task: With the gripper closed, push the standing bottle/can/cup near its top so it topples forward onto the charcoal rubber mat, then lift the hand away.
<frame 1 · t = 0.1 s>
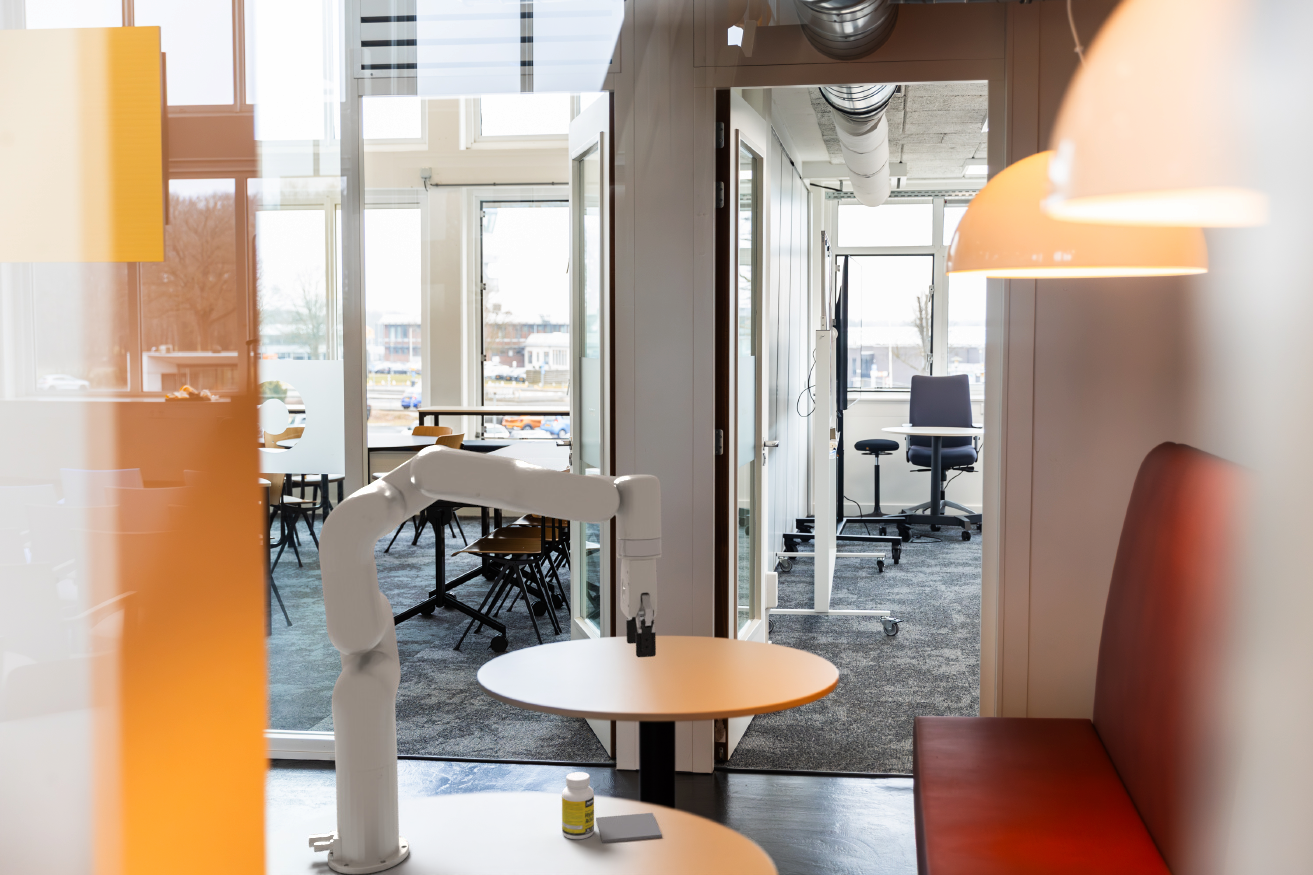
hand: (640, 649, 162), 31 cm above the table, tool pointing down, fingers open, 9 cm apart
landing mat: (628, 828, 164), on the table
supplement bottle: (578, 834, 162), on the table
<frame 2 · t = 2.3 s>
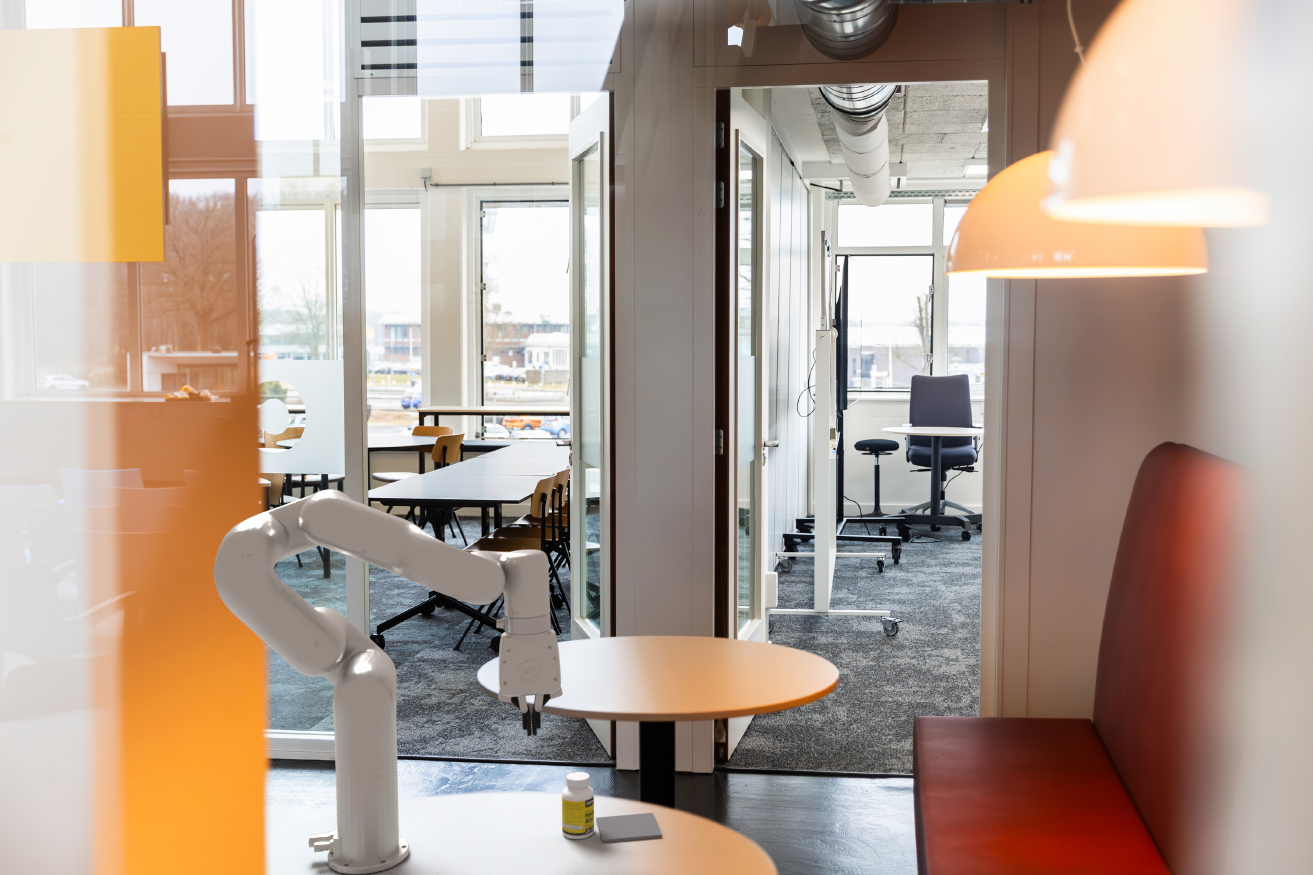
hand: (531, 733, 161), 18 cm above the table, tool pointing down, fingers closed
nothing on the table moved.
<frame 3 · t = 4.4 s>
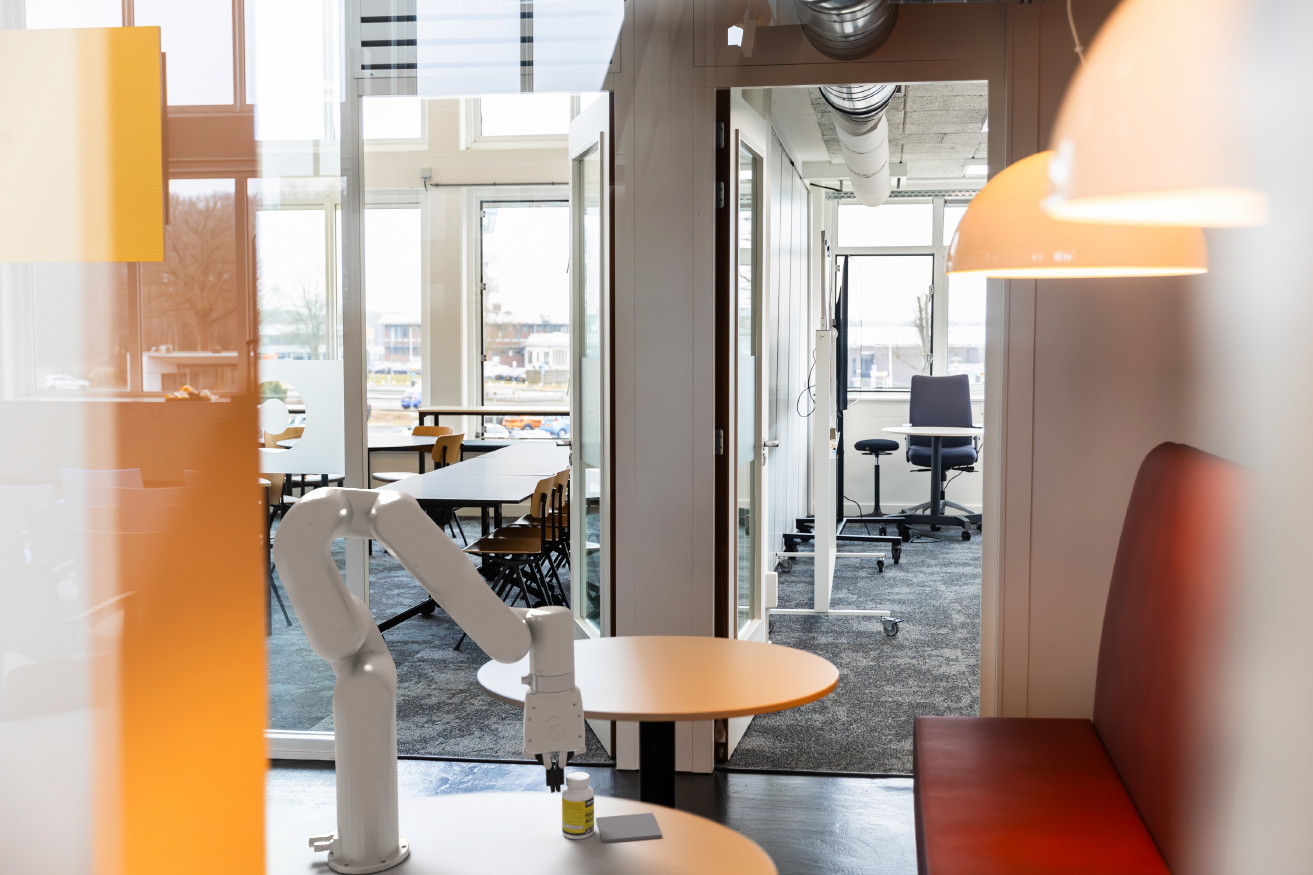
hand: (555, 789, 162), 8 cm above the table, tool pointing down, fingers closed
supplement bottle: (578, 834, 162), on the table, touching gripper
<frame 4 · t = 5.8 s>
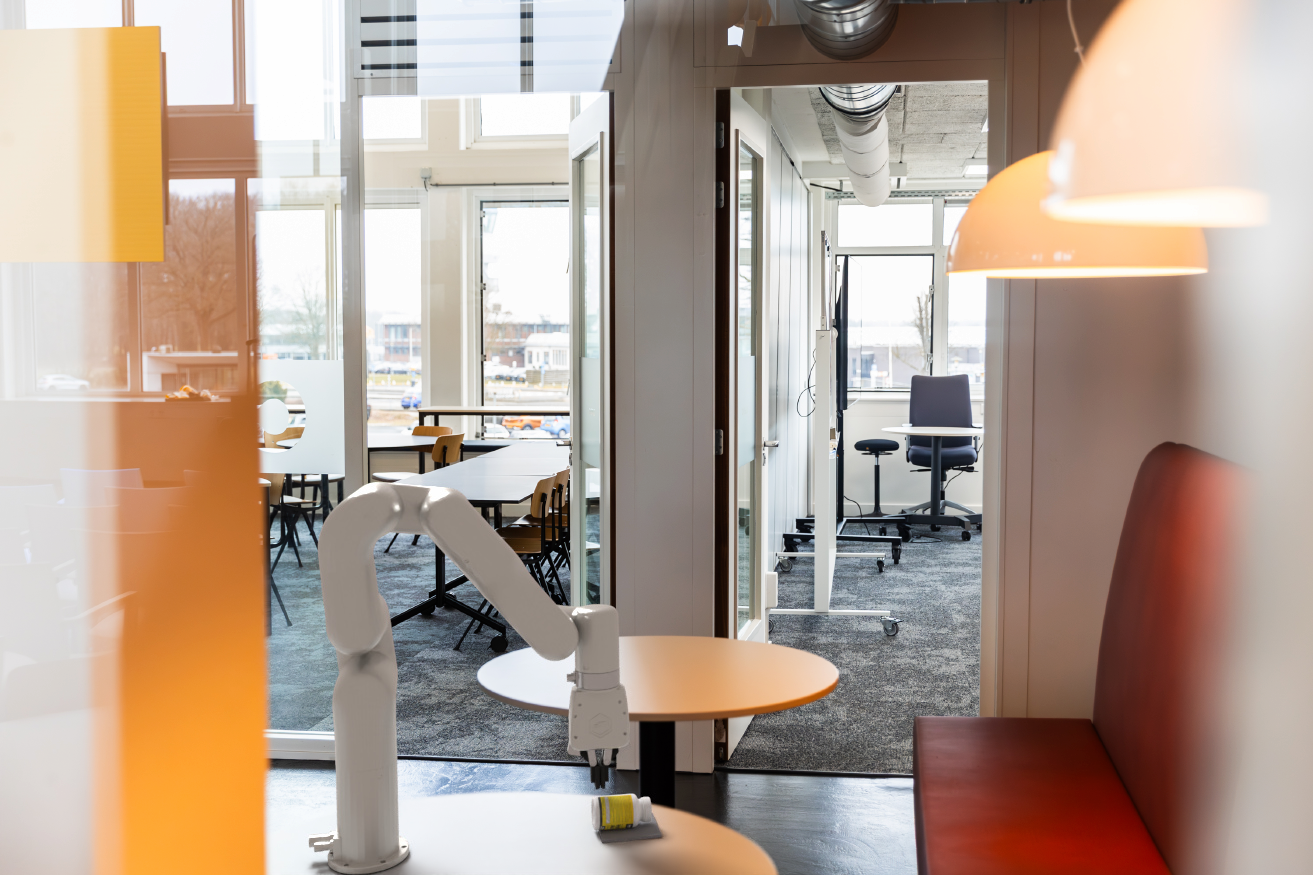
hand: (599, 785, 163), 8 cm above the table, tool pointing down, fingers closed
supplement bottle: (591, 813, 162), point 3 cm above the table, touching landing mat
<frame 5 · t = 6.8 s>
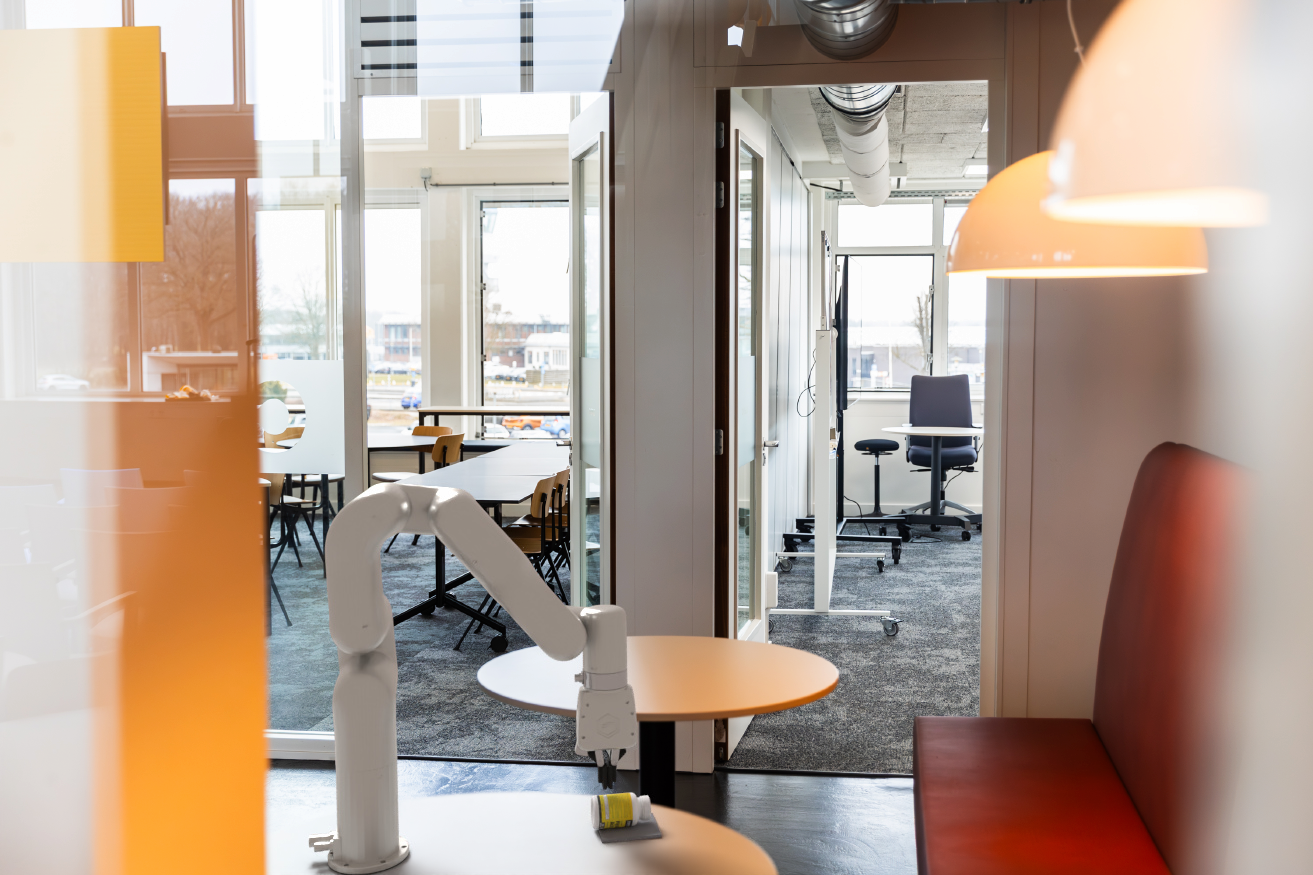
hand: (607, 786, 163), 8 cm above the table, tool pointing down, fingers closed
nothing on the table moved.
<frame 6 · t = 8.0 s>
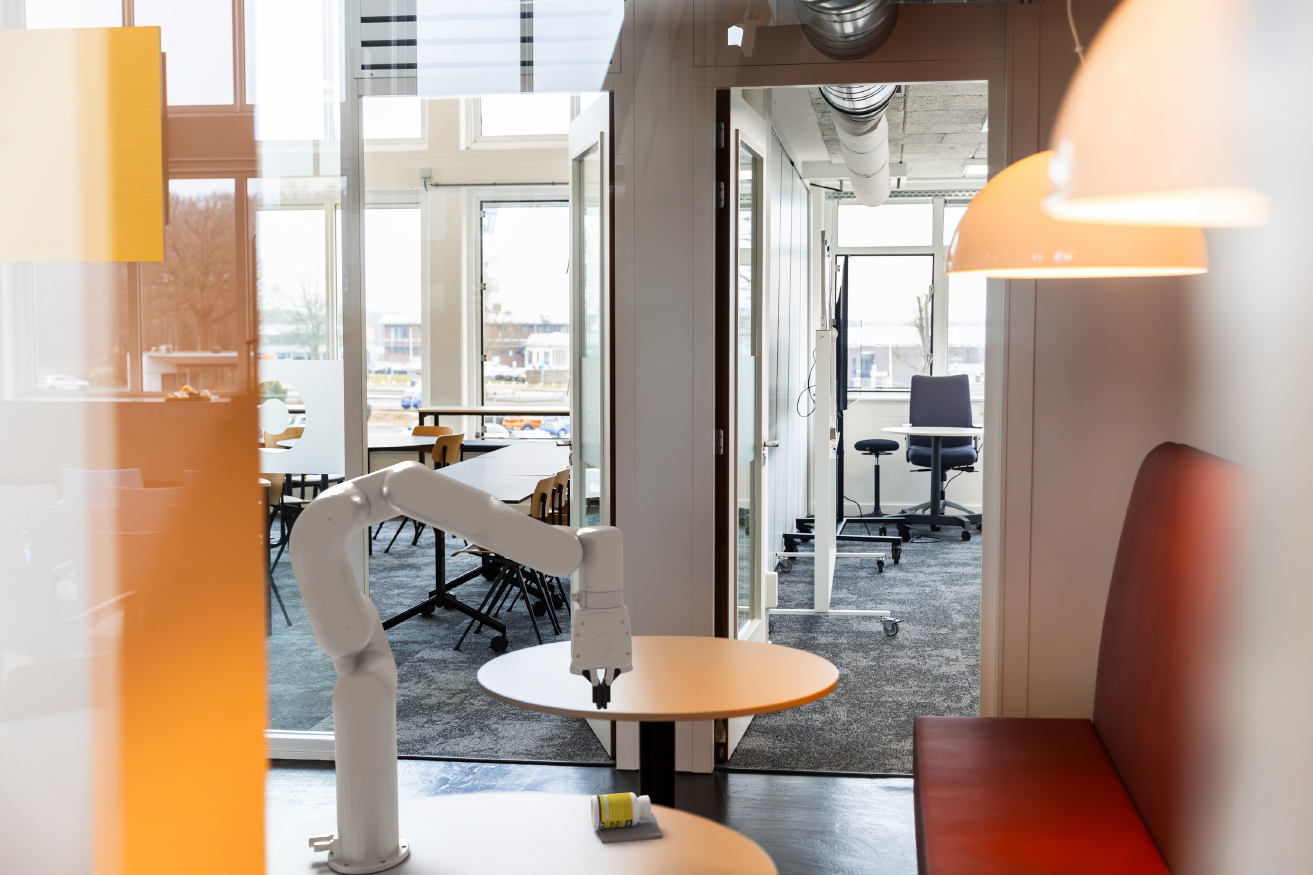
hand: (601, 706, 163), 21 cm above the table, tool pointing down, fingers closed
nothing on the table moved.
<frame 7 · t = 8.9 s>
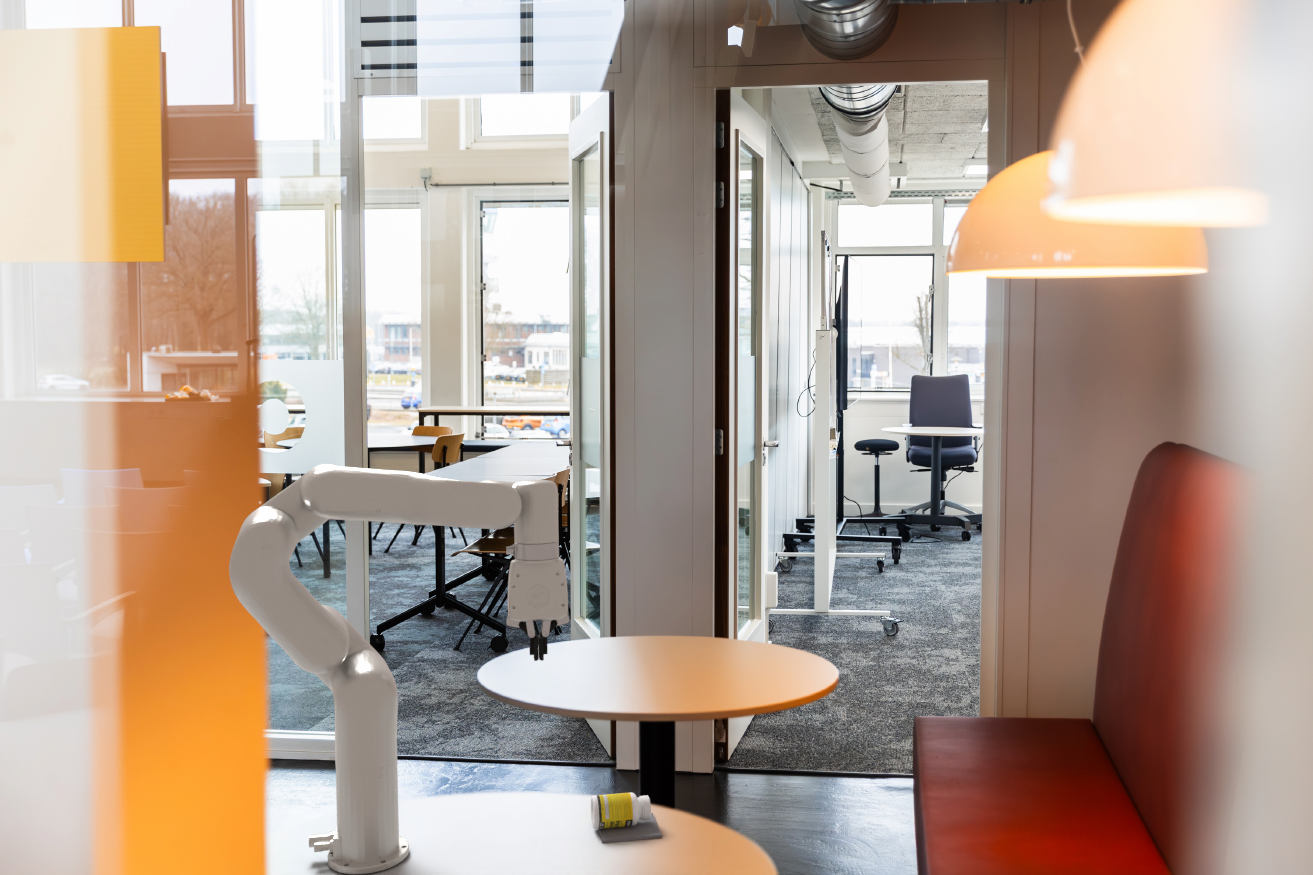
hand: (538, 658, 165), 29 cm above the table, tool pointing down, fingers closed
nothing on the table moved.
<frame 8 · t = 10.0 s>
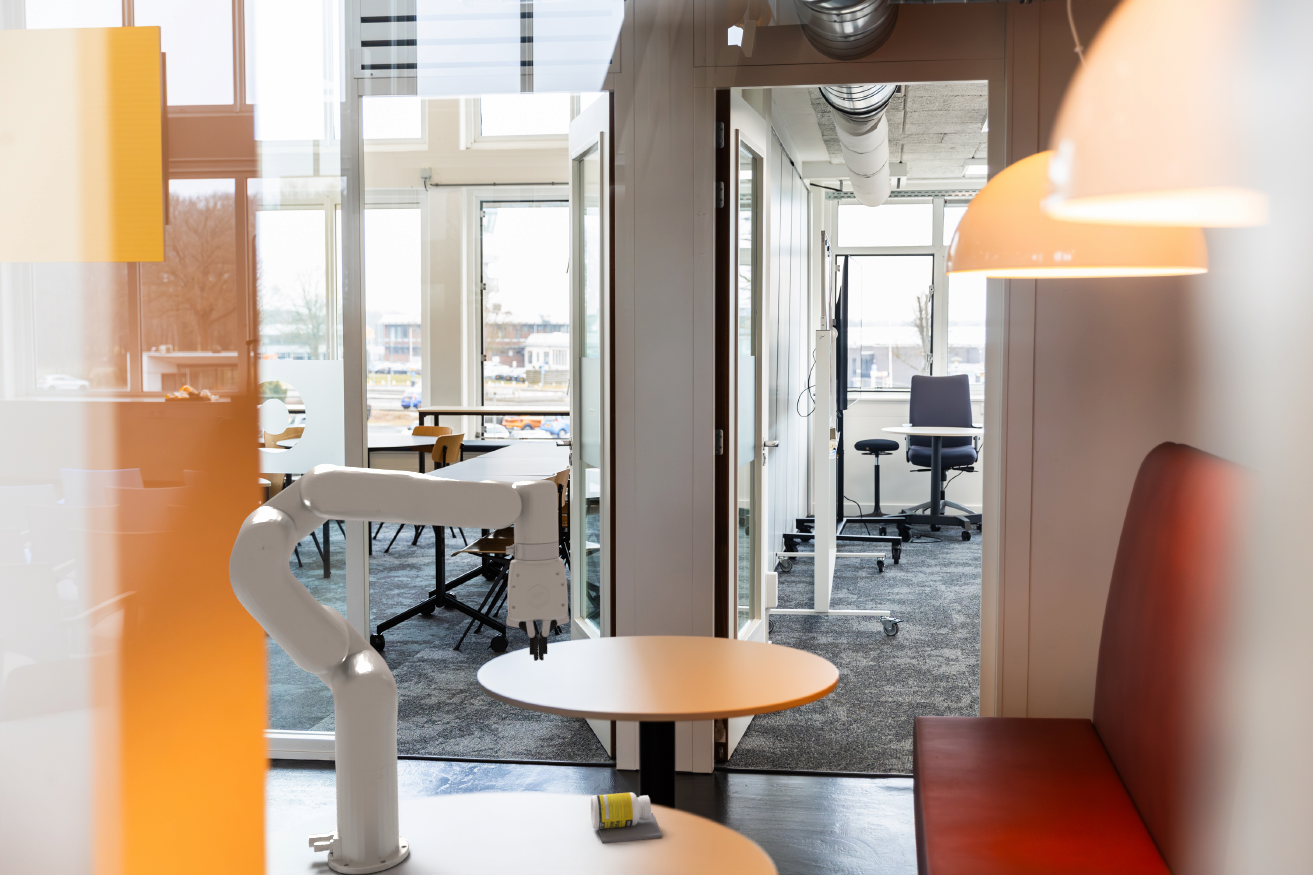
hand: (538, 658, 165), 29 cm above the table, tool pointing down, fingers closed
nothing on the table moved.
at the end: supplement bottle tilted 90°; supplement bottle touching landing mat; supplement bottle inside the target area (3.2 cm from its centre), point 3.2 cm above the table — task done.
